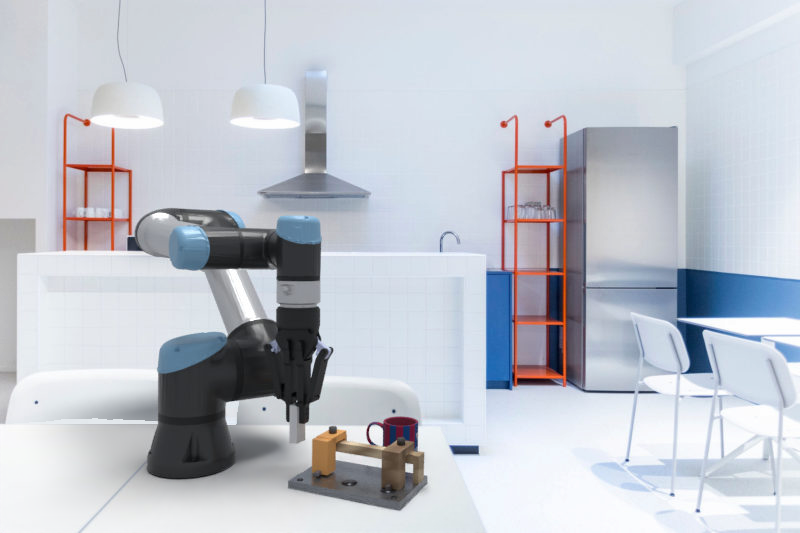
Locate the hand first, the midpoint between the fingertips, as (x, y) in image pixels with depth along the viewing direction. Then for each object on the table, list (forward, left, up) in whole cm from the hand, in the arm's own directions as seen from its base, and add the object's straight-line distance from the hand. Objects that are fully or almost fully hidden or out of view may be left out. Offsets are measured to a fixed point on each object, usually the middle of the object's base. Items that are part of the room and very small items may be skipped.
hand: (297, 441), depth 105 cm
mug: (+11, +17, -6) cm, 21 cm away
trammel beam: (+12, +2, -5) cm, 13 cm away
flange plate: (+12, +1, -6) cm, 13 cm away
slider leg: (+5, +2, -5) cm, 7 cm away
